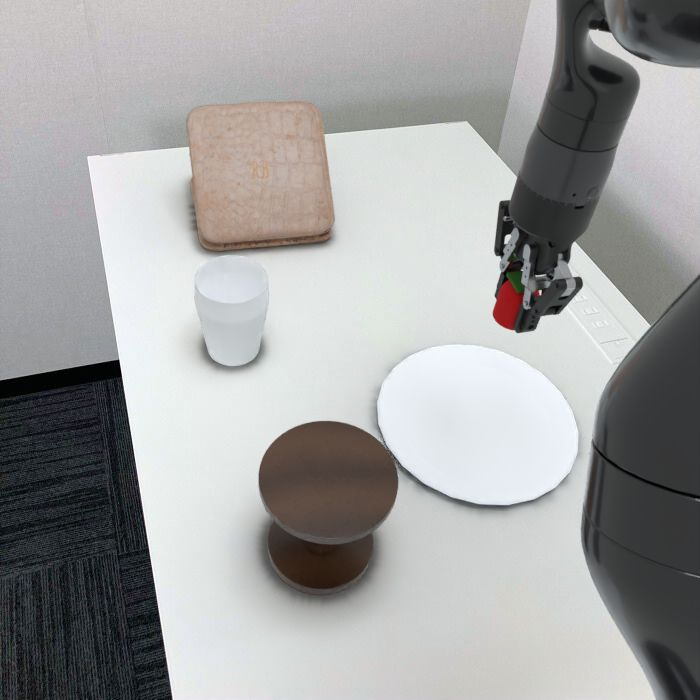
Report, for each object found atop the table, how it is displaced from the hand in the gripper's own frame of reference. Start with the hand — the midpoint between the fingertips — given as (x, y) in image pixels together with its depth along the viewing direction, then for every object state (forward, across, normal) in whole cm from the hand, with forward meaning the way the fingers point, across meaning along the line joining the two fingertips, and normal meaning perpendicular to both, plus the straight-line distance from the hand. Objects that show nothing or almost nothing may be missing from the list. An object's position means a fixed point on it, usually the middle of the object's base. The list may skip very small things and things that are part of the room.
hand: (513, 313), depth 78 cm
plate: (+19, 0, 0) cm, 19 cm away
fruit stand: (+19, +12, -23) cm, 32 cm away
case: (+19, -47, -18) cm, 54 cm away
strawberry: (0, 0, 0) cm, 0 cm away
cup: (+19, -18, -27) cm, 37 cm away
